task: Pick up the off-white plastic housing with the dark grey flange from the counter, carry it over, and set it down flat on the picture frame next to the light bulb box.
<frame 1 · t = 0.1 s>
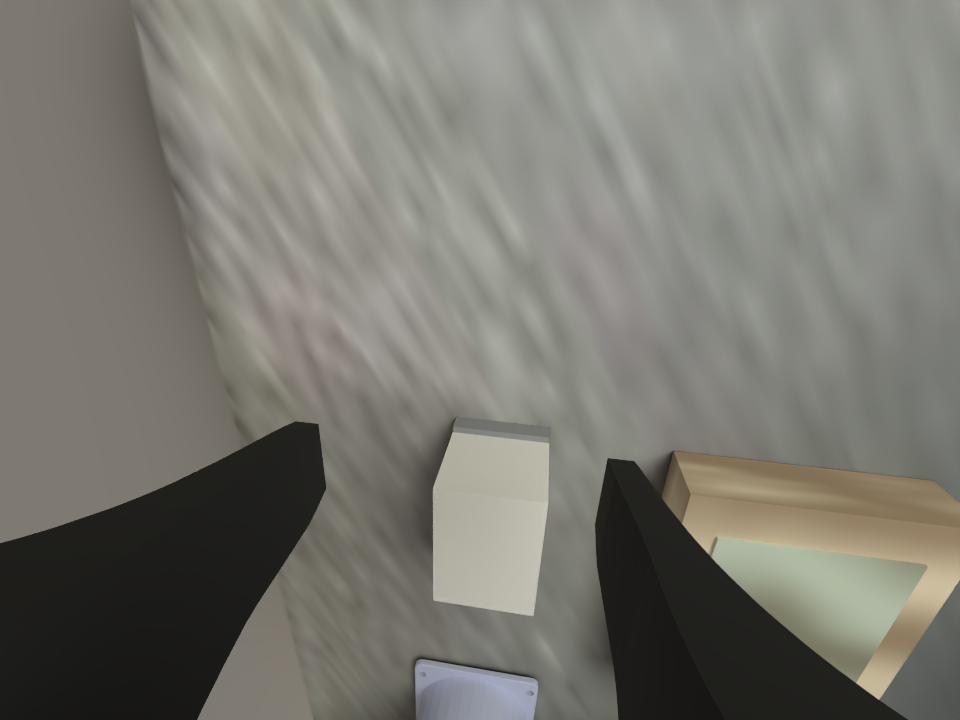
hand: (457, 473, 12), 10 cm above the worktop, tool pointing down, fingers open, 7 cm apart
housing: (498, 478, 24), on the worktop
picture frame: (754, 575, 24), on the worktop
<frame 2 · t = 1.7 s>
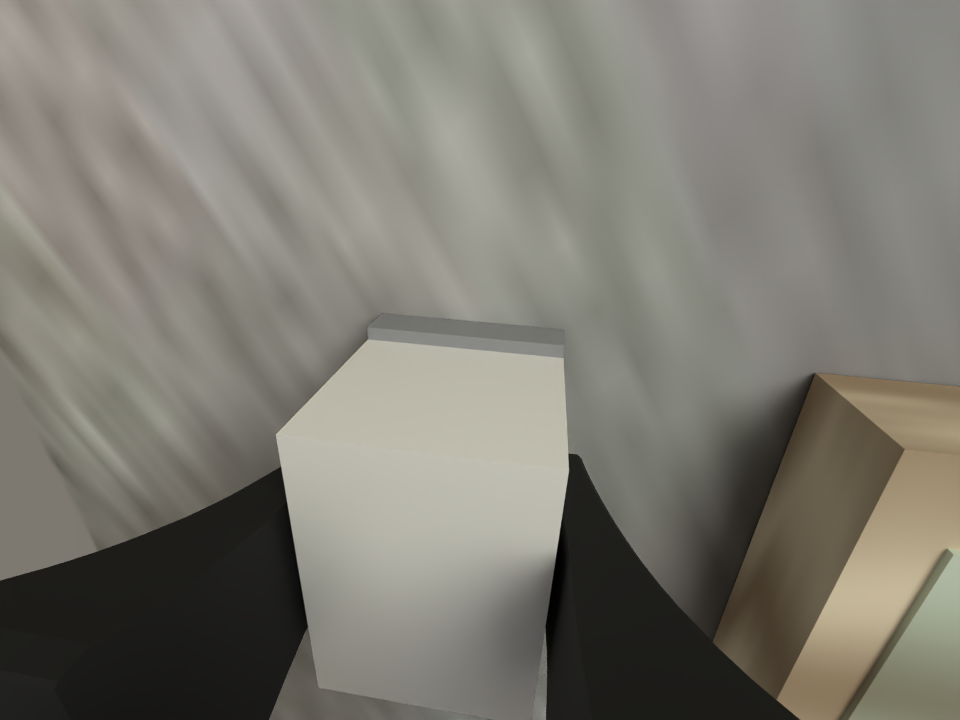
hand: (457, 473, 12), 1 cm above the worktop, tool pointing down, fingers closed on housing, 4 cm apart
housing: (466, 441, 13), on the worktop, touching gripper
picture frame: (940, 617, 13), on the worktop
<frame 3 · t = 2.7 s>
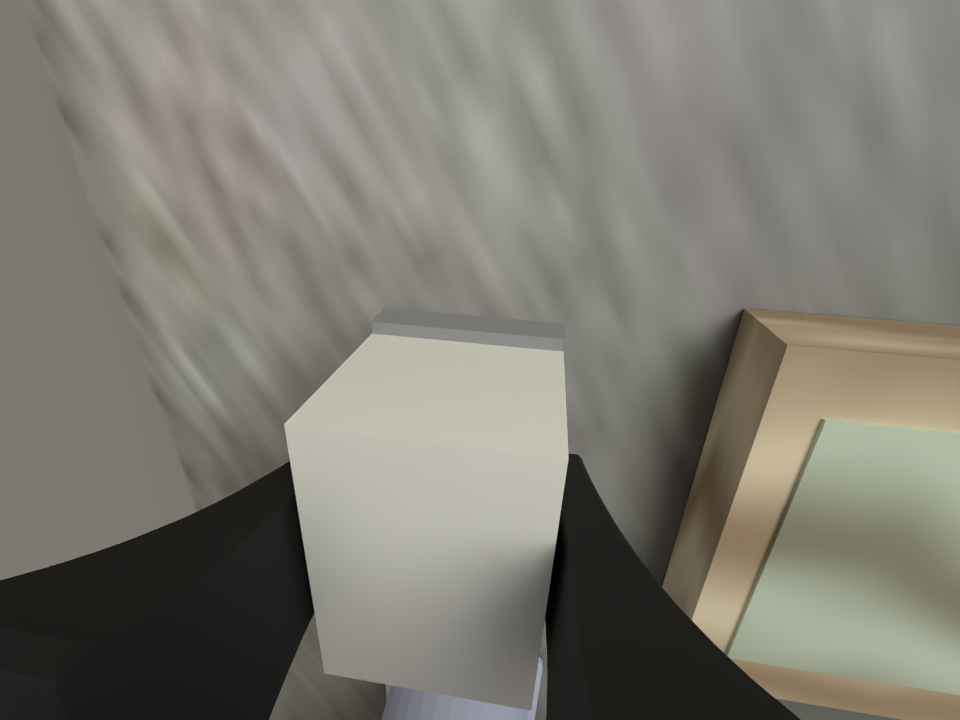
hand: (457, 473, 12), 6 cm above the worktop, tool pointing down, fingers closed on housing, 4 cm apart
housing: (468, 434, 13), point 4 cm above the worktop, touching gripper
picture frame: (849, 503, 17), on the worktop
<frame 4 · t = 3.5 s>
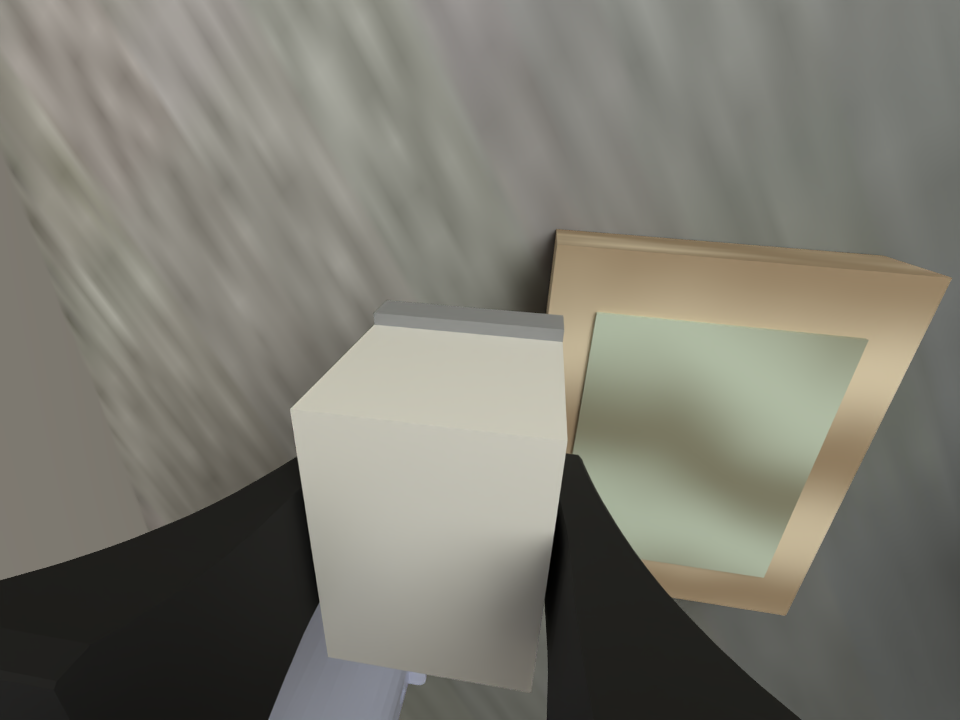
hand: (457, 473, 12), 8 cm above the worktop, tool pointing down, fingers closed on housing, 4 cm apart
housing: (469, 425, 13), point 6 cm above the worktop, touching gripper
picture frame: (668, 413, 19), on the worktop
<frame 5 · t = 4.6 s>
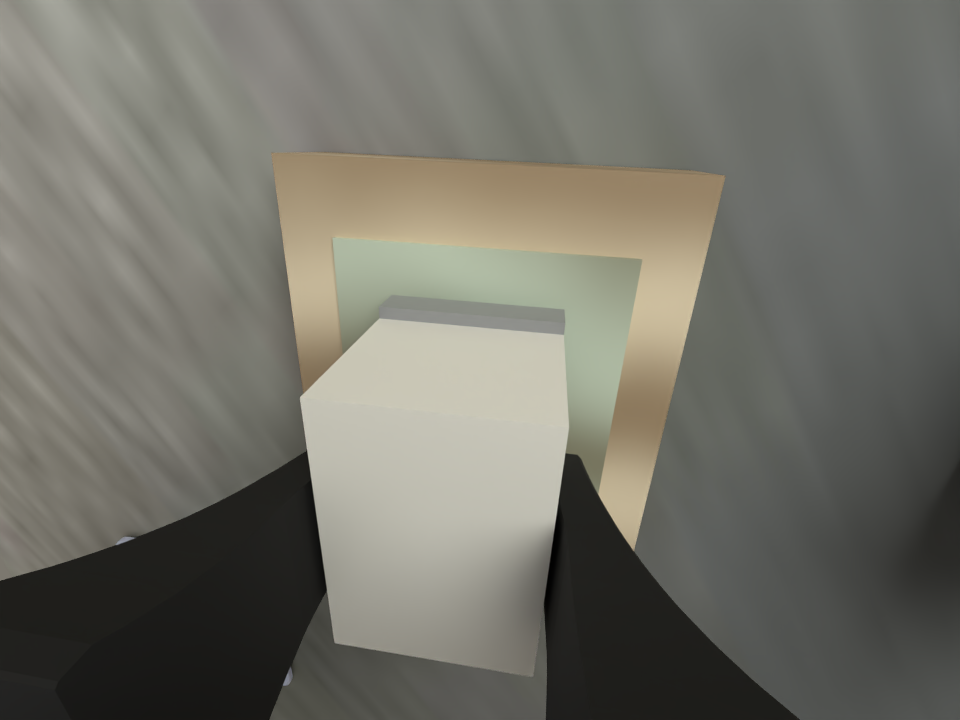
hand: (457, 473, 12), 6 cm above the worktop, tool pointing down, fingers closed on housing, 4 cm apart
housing: (471, 417, 13), point 4 cm above the worktop, touching gripper
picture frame: (487, 371, 17), on the worktop
when the fingers open (6 cm above the worktop, at t = 5.3 s): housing stays where it is, resting on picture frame.
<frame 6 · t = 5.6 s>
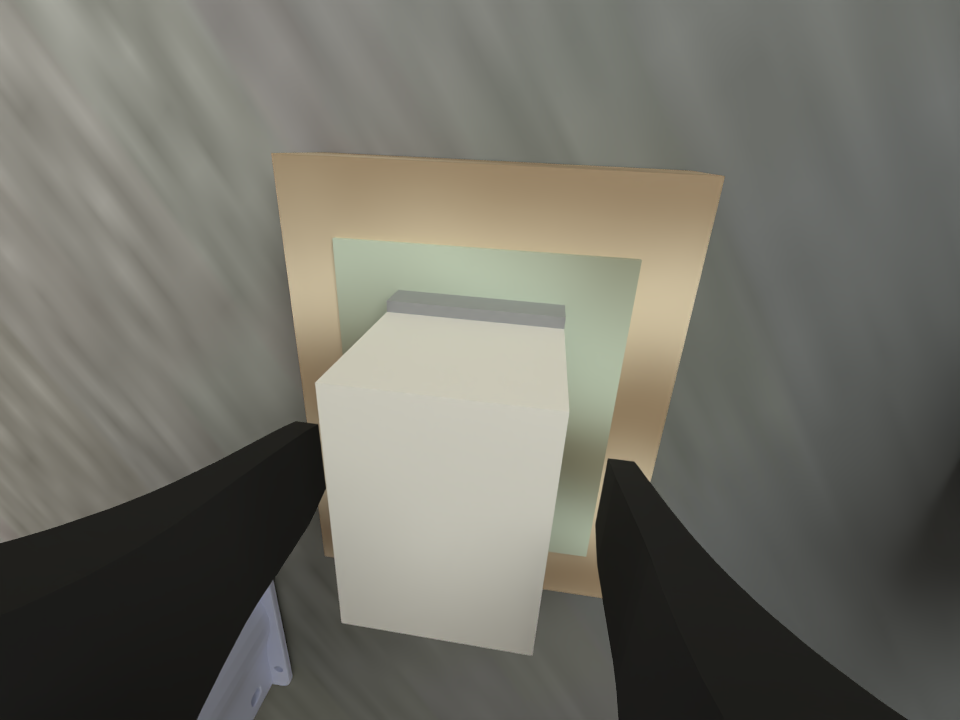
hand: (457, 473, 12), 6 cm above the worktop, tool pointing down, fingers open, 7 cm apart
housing: (474, 410, 14), point 3 cm above the worktop, touching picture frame
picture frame: (487, 371, 17), on the worktop
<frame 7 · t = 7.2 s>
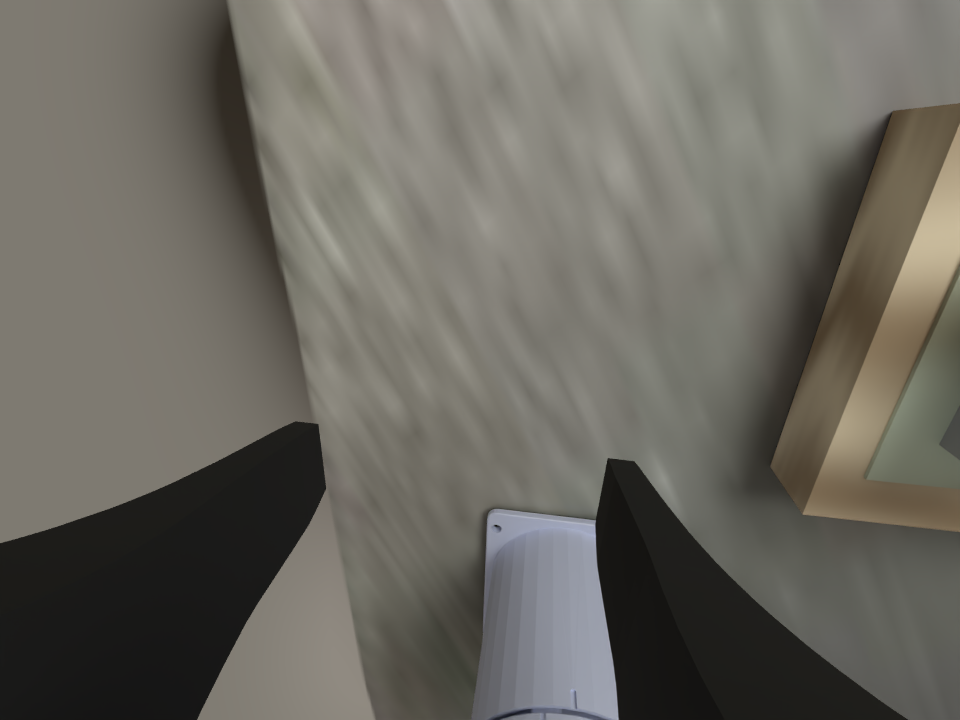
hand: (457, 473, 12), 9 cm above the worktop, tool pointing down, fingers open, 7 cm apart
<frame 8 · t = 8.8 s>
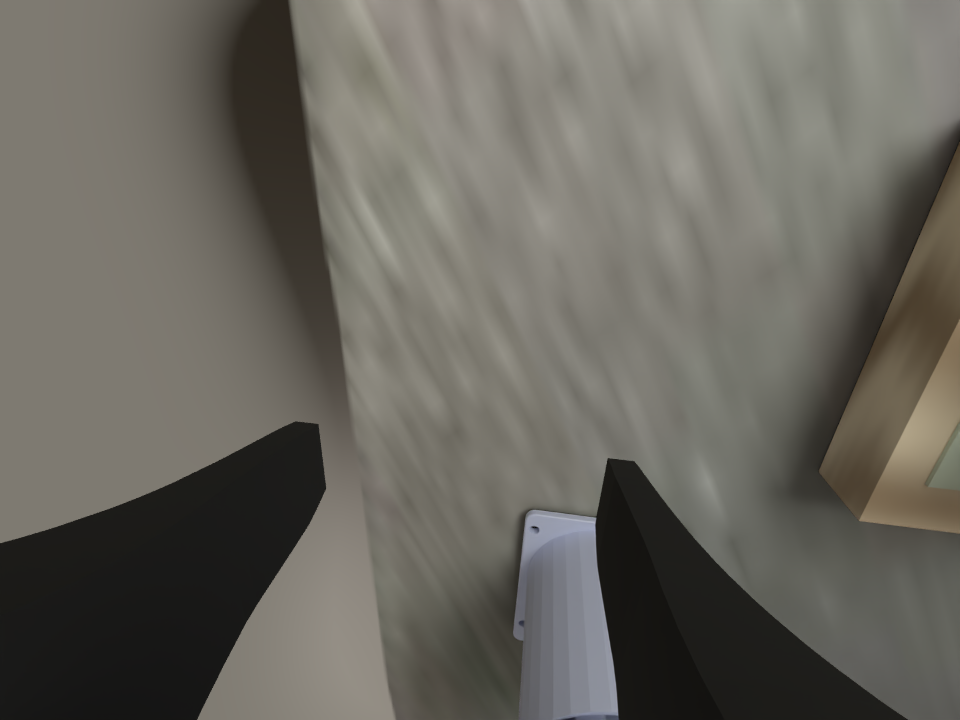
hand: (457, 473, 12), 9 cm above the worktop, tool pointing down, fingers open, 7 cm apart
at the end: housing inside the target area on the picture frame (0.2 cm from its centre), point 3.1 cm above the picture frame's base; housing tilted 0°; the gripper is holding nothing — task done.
